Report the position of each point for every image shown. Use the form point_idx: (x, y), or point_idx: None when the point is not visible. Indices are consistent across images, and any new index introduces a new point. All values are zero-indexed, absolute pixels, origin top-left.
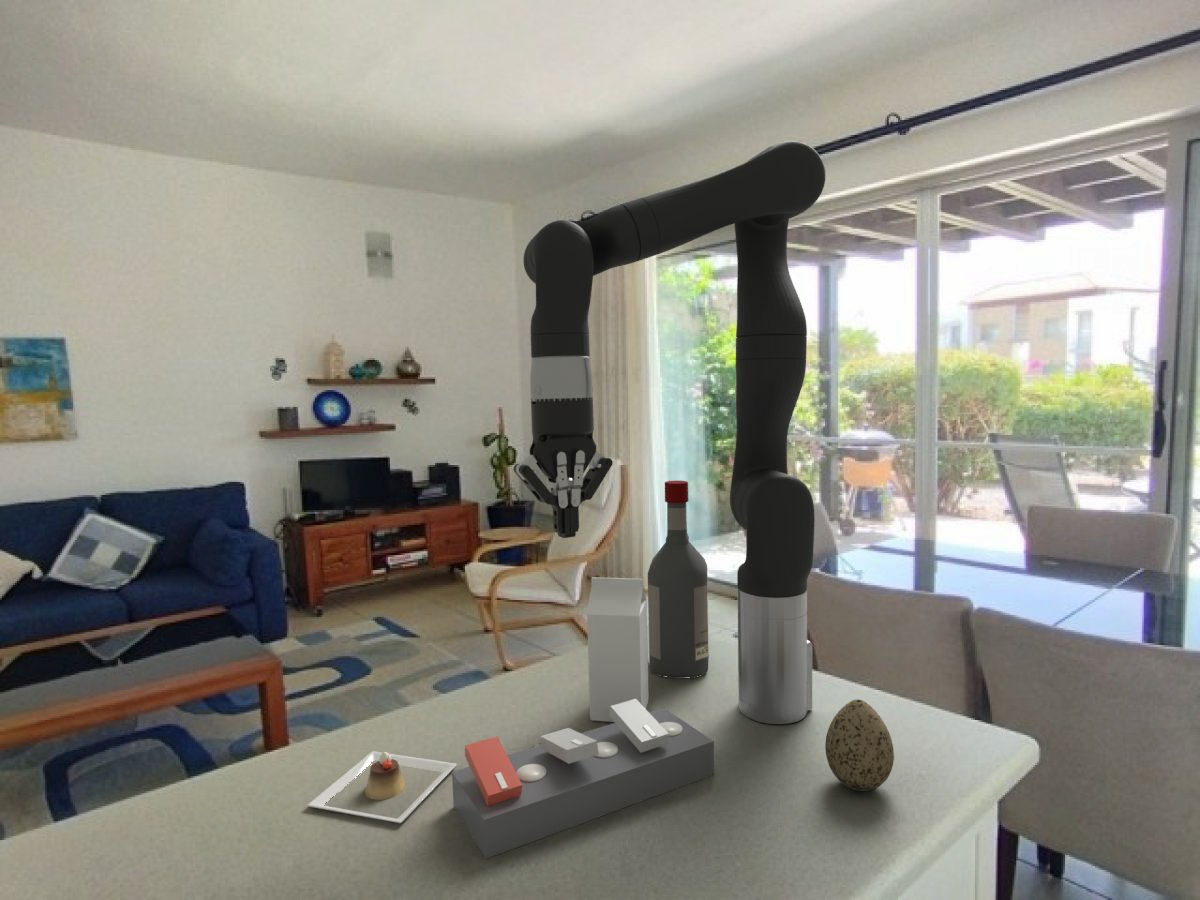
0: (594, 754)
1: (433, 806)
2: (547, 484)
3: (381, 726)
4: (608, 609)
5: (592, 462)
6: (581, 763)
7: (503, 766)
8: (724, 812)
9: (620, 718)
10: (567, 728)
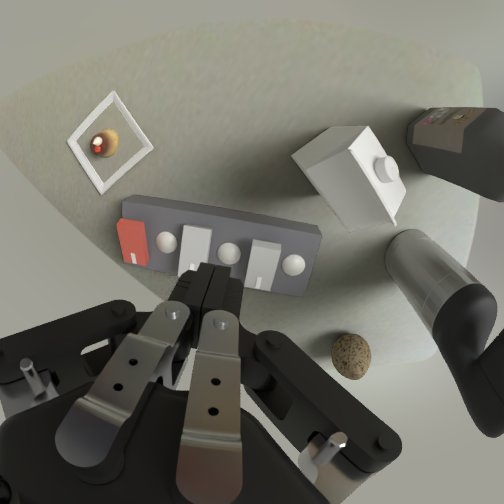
0: None
1: (124, 185)
2: (128, 337)
3: (138, 46)
4: (331, 193)
5: (305, 470)
6: None
7: (137, 250)
8: (270, 311)
9: (249, 259)
10: (209, 230)
